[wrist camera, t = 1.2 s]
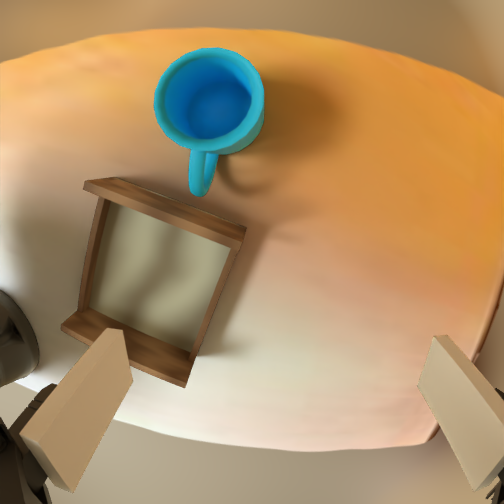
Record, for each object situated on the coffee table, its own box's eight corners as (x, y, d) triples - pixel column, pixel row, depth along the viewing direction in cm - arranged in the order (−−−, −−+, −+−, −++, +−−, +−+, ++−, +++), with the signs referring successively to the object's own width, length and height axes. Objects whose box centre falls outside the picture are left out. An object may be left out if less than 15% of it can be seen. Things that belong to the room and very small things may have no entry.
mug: (190, 71, 27) (167, 43, 19) (271, 83, 27) (274, 55, 19) (167, 185, 30) (136, 193, 22) (247, 200, 30) (241, 213, 22)
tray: (85, 307, 34) (60, 330, 29) (114, 176, 30) (84, 180, 24) (195, 356, 35) (184, 388, 30) (246, 227, 31) (242, 242, 25)
